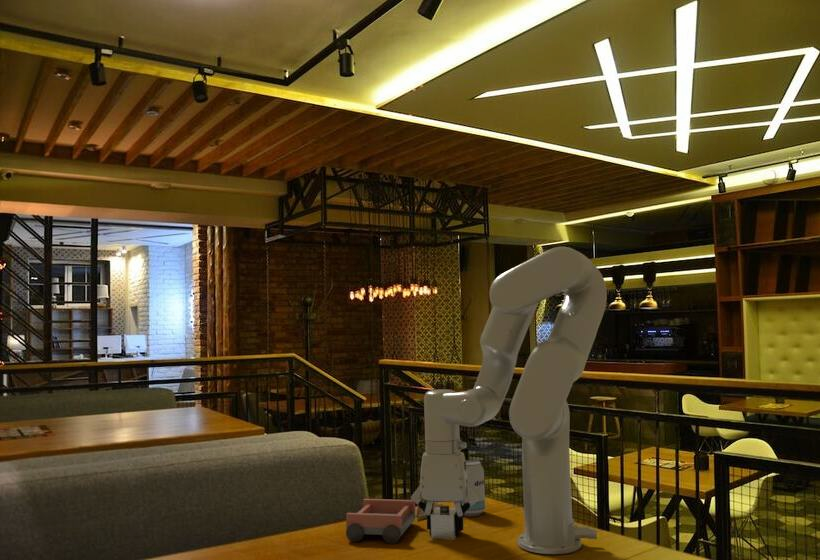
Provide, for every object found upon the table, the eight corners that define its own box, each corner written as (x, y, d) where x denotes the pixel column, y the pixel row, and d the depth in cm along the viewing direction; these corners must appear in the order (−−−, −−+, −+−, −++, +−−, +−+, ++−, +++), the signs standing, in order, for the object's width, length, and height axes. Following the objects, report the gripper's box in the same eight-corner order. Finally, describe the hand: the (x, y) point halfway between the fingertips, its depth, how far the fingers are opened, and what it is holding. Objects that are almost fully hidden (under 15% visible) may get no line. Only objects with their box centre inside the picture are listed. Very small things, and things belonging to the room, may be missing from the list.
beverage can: (477, 519, 154) (475, 466, 155) (451, 515, 157) (449, 464, 158) (490, 511, 160) (488, 461, 161) (464, 508, 163) (462, 458, 164)
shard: (416, 523, 154) (416, 515, 154) (396, 516, 160) (396, 508, 160) (451, 514, 161) (451, 506, 161) (431, 508, 167) (431, 500, 167)
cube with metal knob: (459, 531, 145) (458, 503, 146) (454, 539, 139) (453, 510, 140) (436, 530, 146) (436, 502, 147) (431, 538, 140) (430, 509, 141)
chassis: (416, 523, 151) (415, 499, 152) (400, 544, 137) (399, 517, 137) (366, 521, 154) (365, 497, 155) (345, 541, 140) (344, 515, 140)
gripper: (483, 444, 146) (487, 529, 145) (408, 444, 150) (411, 526, 148) (479, 451, 139) (482, 540, 137) (400, 449, 143) (402, 536, 141)
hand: (445, 532), depth 143 cm, fingers closed on cube with metal knob, 5 cm apart
